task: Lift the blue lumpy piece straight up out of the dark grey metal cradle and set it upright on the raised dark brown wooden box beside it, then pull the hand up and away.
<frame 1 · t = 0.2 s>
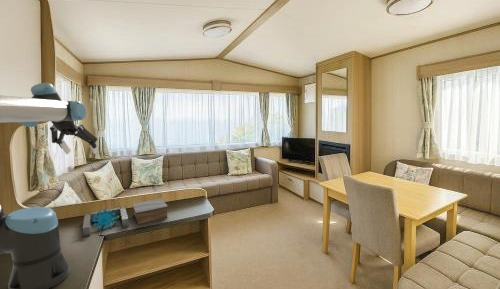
hand: (82, 152, 121), 35 cm above the countertop, tool tilted 35°, fingers open, 13 cm apart
cradle: (106, 226, 116), on the countertop
blue lumpy piece: (106, 226, 117), resting in cradle
dark brown wooden box: (150, 215, 128), on the countertop
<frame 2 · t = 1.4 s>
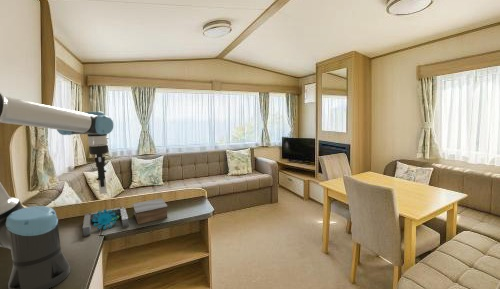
hand: (103, 189, 114), 18 cm above the countertop, tool pointing down, fingers open, 13 cm apart
nothing on the countertop moved.
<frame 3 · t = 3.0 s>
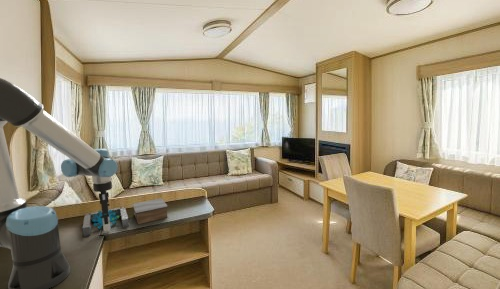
hand: (106, 224, 116), 1 cm above the countertop, tool pointing down, fingers open, 13 cm apart
nothing on the countertop moved.
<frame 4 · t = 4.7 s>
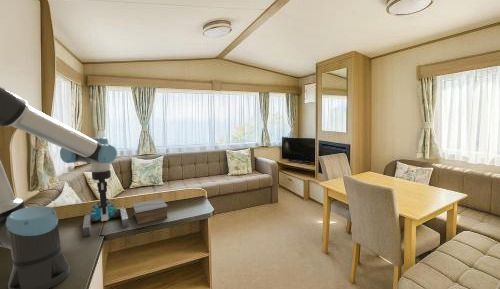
hand: (104, 217, 115), 5 cm above the countertop, tool pointing down, fingers closed on blue lumpy piece, 8 cm apart
blue lumpy piece: (104, 218, 115), point 4 cm above the countertop, touching gripper
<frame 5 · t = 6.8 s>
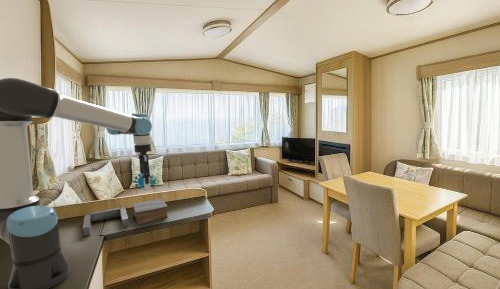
hand: (146, 187, 125), 16 cm above the countertop, tool pointing down, fingers closed on blue lumpy piece, 8 cm apart
blue lumpy piece: (146, 188, 125), point 15 cm above the countertop, touching gripper
when the fingers open (7 cm above the countertop, at t = 9.3 s): blue lumpy piece stays where it is, resting on dark brown wooden box.
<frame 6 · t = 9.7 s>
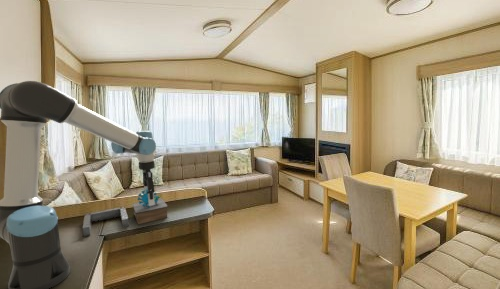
hand: (149, 201, 127), 8 cm above the countertop, tool pointing down, fingers open, 12 cm apart
blue lumpy piece: (149, 205, 127), point 6 cm above the countertop, touching dark brown wooden box
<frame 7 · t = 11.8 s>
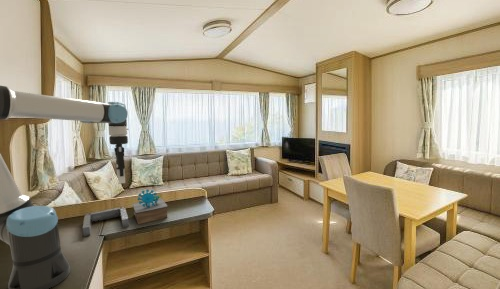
hand: (121, 180, 115), 22 cm above the countertop, tool pointing down, fingers open, 13 cm apart
nothing on the countertop moved.
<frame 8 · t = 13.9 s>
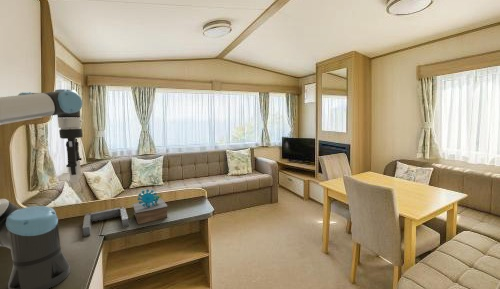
hand: (76, 178, 102), 27 cm above the countertop, tool pointing down, fingers open, 13 cm apart
nothing on the countertop moved.
at the end: blue lumpy piece inside the target area on the dark brown wooden box (0.2 cm from its centre), point 5.8 cm above the dark brown wooden box's base; blue lumpy piece tilted 0°; the gripper is holding nothing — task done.
